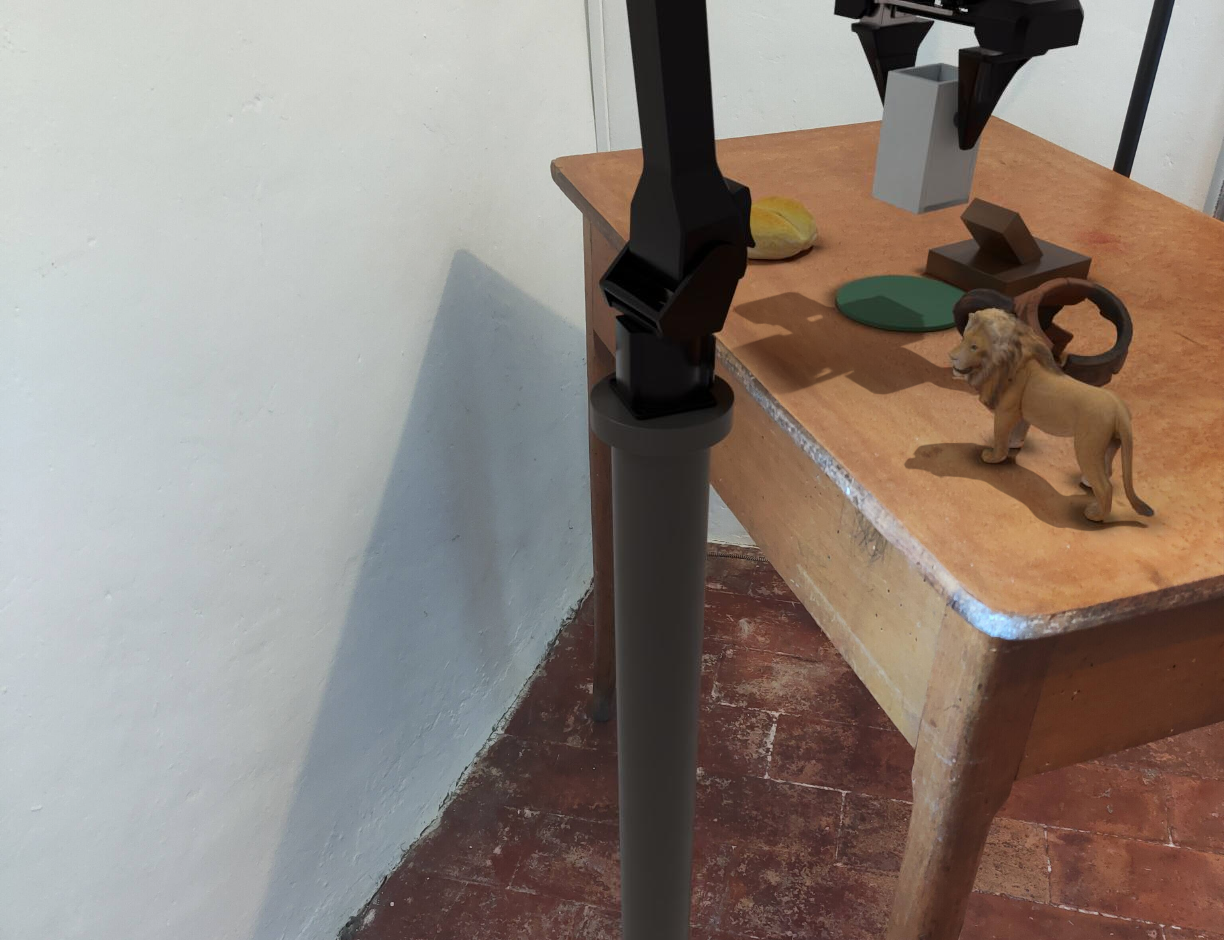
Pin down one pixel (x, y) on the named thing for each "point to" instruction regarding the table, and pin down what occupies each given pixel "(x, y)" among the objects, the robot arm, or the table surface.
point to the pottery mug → (1039, 315)
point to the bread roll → (780, 228)
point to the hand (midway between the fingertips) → (930, 138)
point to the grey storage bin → (923, 142)
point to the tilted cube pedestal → (1002, 254)
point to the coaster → (900, 302)
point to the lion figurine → (1045, 403)
